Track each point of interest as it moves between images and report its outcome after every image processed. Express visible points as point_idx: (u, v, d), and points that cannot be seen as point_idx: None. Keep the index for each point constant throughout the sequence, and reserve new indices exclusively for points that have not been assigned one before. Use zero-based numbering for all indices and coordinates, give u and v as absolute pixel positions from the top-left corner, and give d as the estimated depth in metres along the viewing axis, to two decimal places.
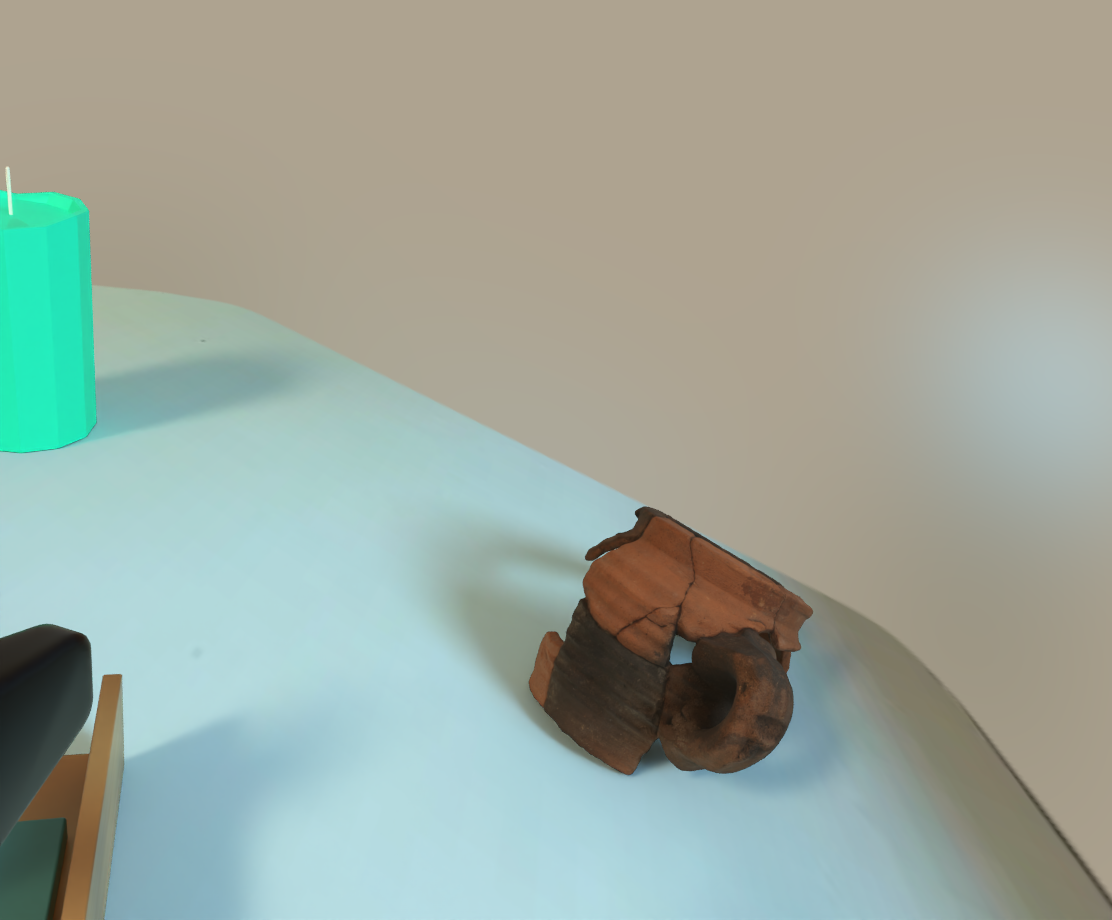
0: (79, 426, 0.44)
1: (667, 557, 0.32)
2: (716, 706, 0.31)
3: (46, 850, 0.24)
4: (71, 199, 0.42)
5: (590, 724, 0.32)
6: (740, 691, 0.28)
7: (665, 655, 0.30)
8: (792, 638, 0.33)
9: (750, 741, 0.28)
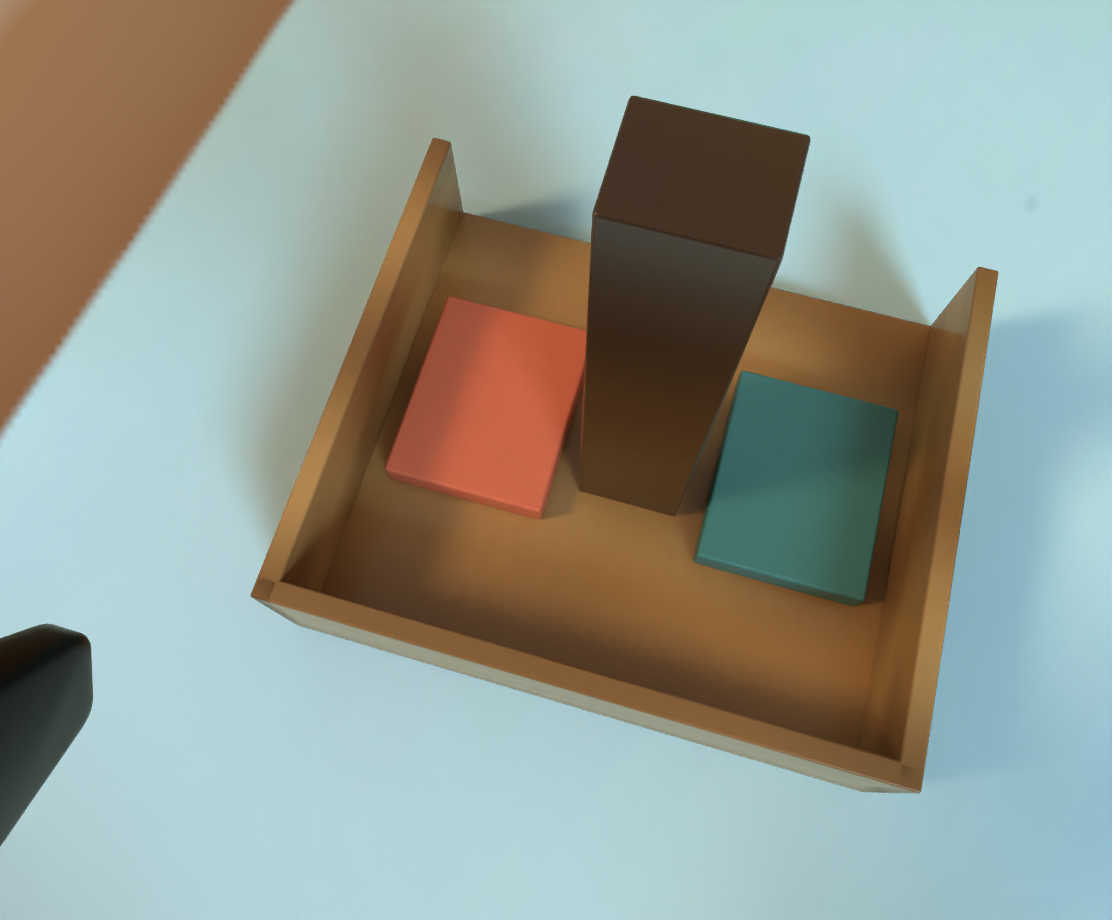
0: None
1: None
2: None
3: (880, 444, 0.23)
4: None
5: None
6: None
7: None
8: None
9: None
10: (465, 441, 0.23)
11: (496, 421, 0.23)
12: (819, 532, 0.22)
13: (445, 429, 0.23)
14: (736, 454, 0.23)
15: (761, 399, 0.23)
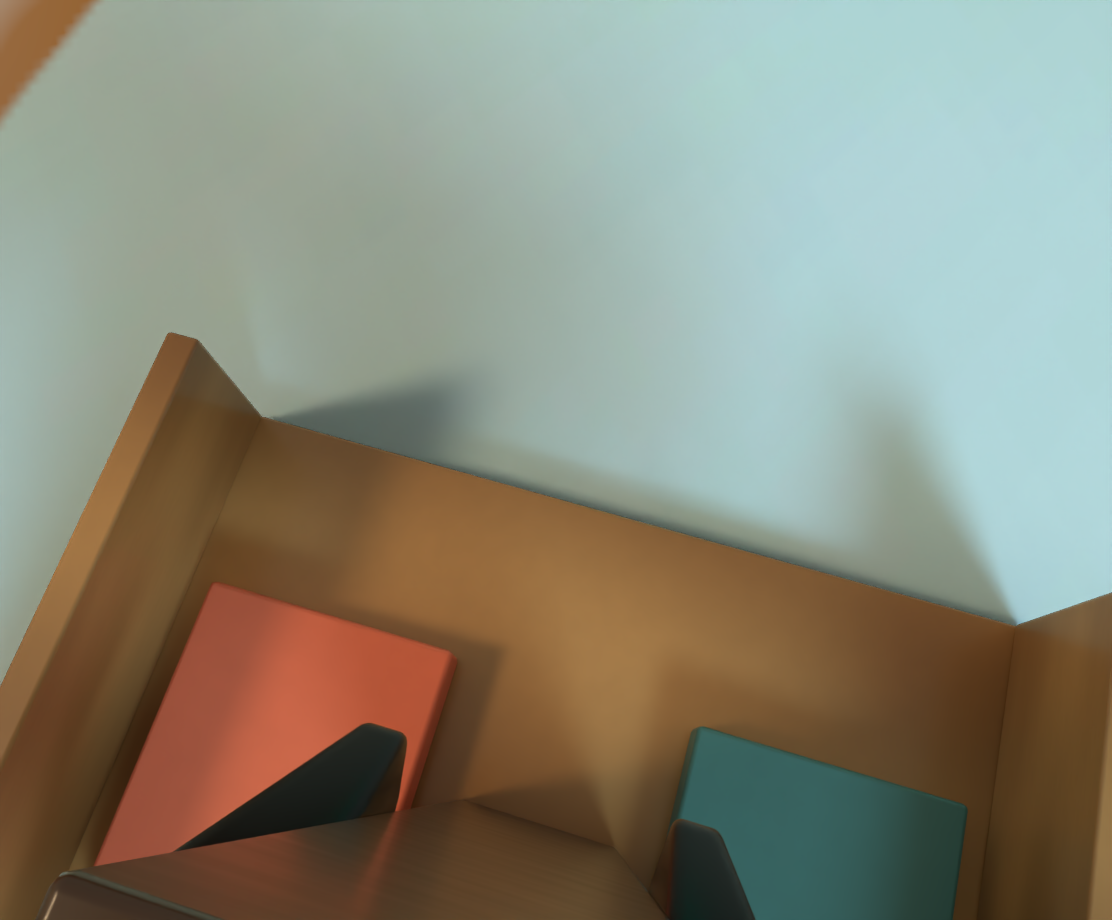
0: None
1: None
2: None
3: (937, 876, 0.13)
4: None
5: None
6: None
7: None
8: None
9: None
10: None
11: None
12: None
13: (184, 840, 0.13)
14: None
15: (731, 785, 0.13)
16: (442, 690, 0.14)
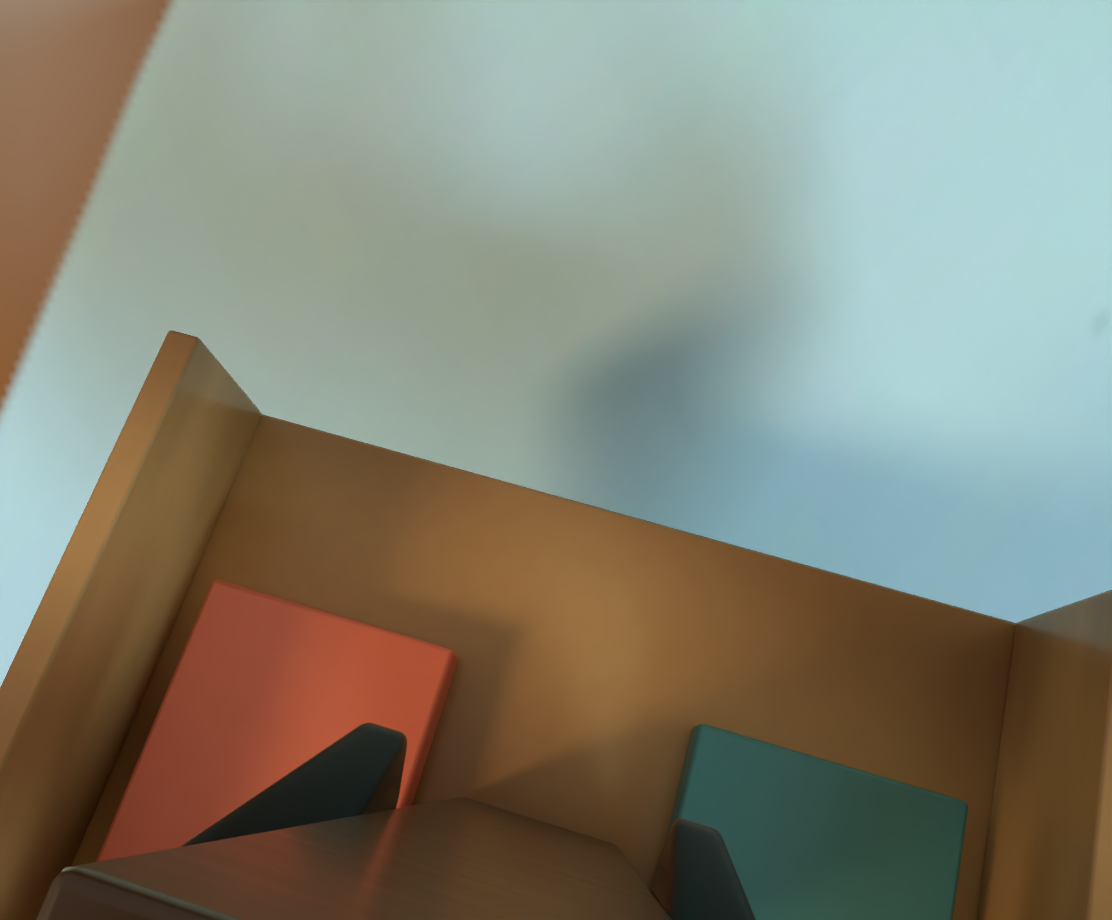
0: None
1: None
2: None
3: (937, 873, 0.13)
4: None
5: None
6: None
7: None
8: None
9: None
10: None
11: None
12: None
13: (185, 837, 0.13)
14: None
15: (732, 782, 0.13)
16: (443, 687, 0.14)
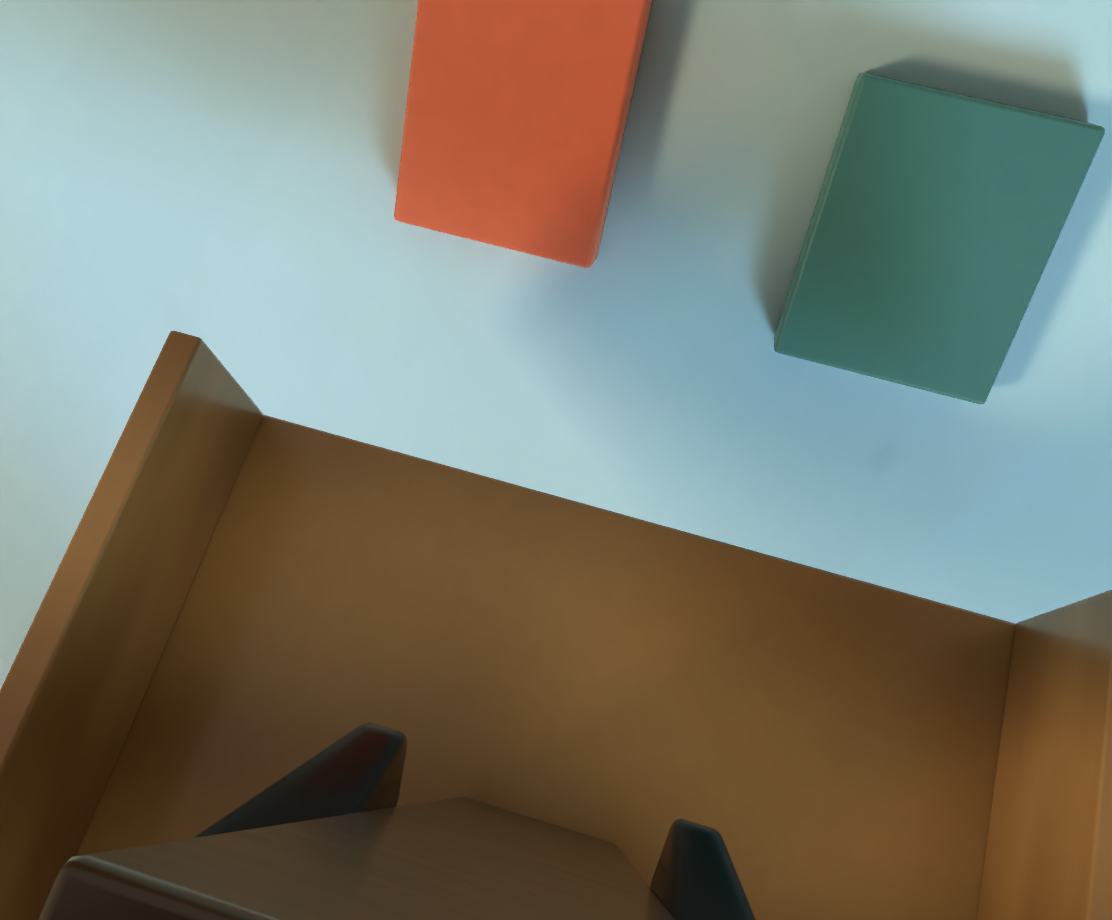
0: None
1: None
2: None
3: None
4: None
5: None
6: None
7: None
8: None
9: None
10: None
11: None
12: None
13: None
14: None
15: None
16: (601, 233, 0.18)
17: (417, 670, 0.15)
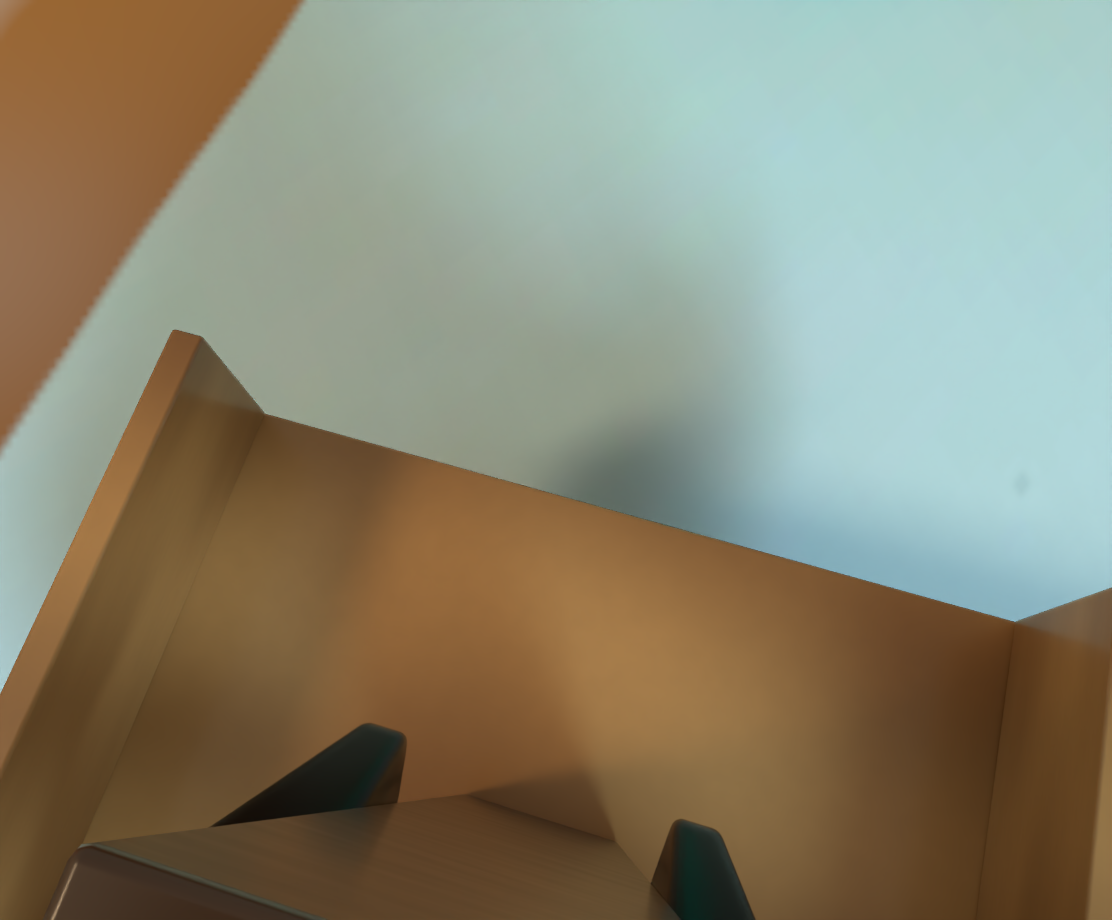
0: None
1: None
2: None
3: None
4: None
5: None
6: None
7: None
8: None
9: None
10: None
11: None
12: None
13: None
14: None
15: None
16: None
17: (418, 668, 0.15)
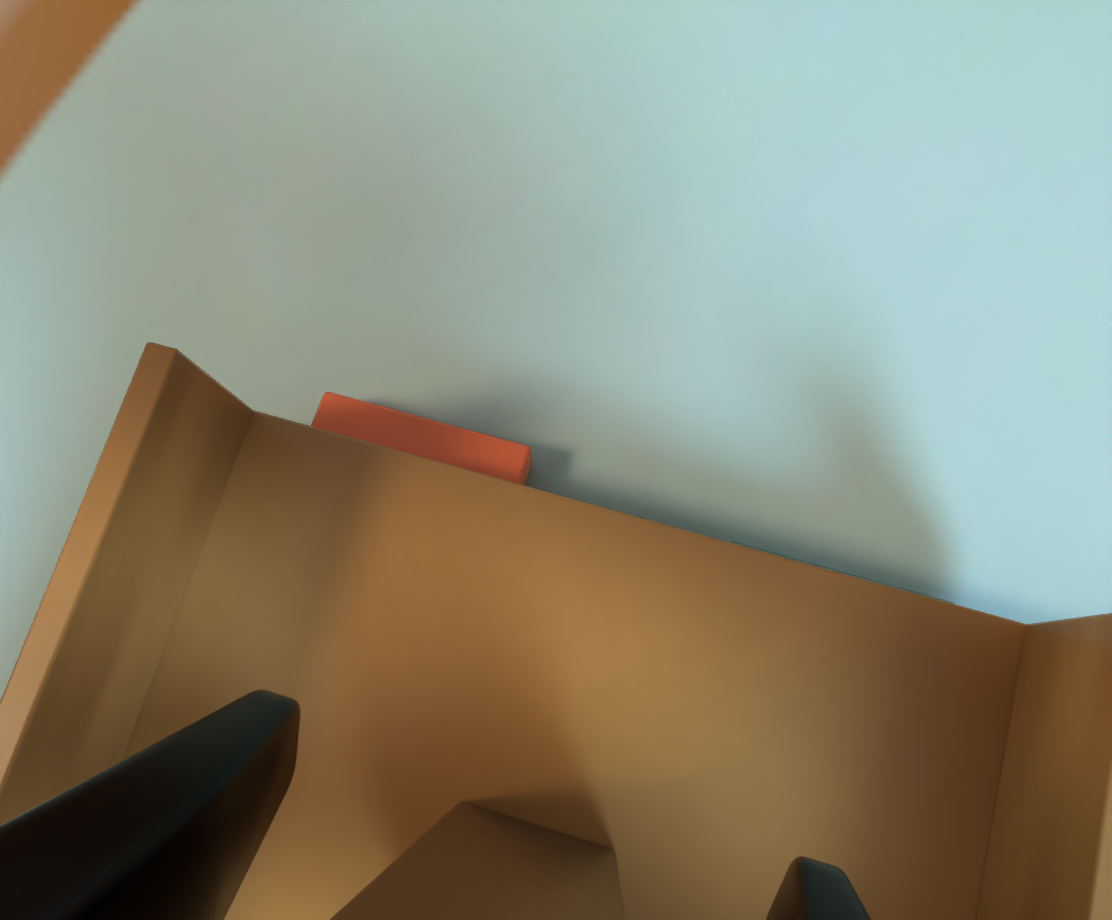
0: None
1: None
2: None
3: None
4: None
5: None
6: None
7: None
8: None
9: None
10: None
11: None
12: None
13: None
14: None
15: None
16: None
17: (414, 674, 0.15)
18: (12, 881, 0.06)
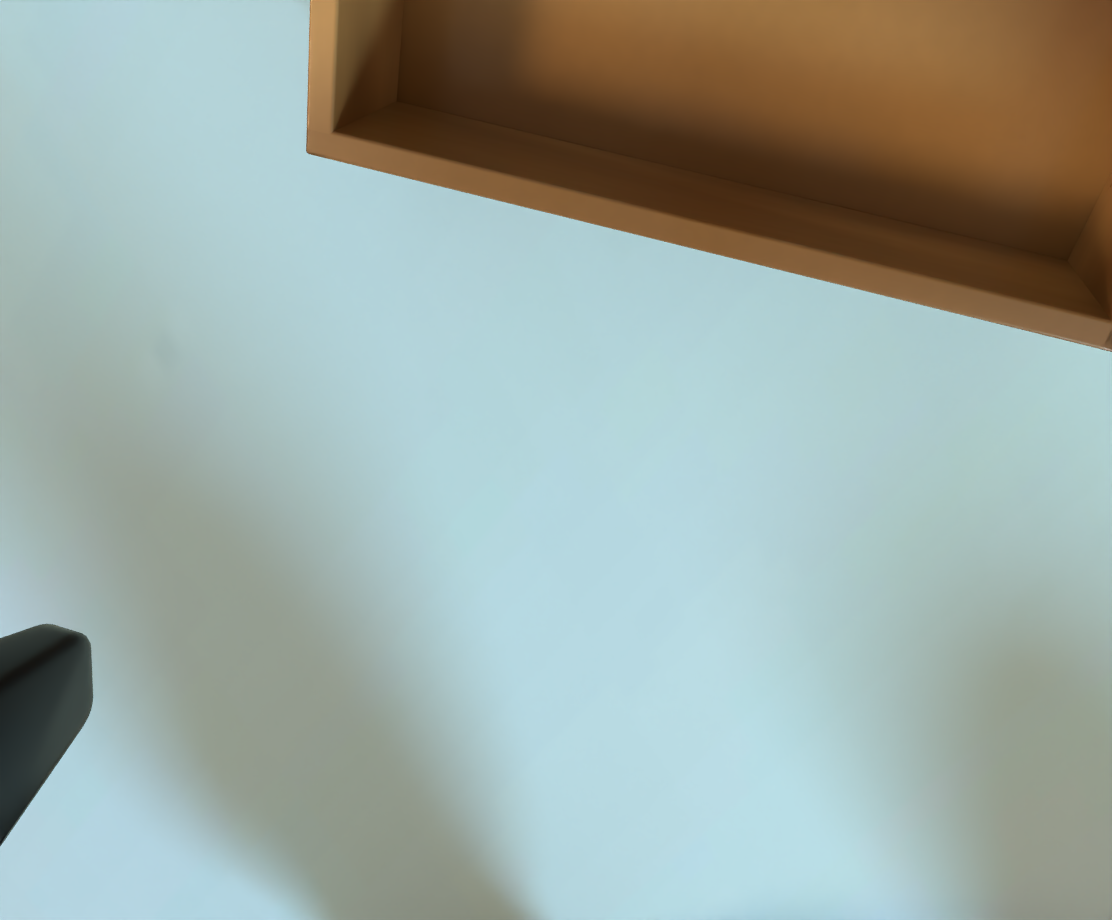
0: None
1: None
2: None
3: None
4: None
5: None
6: None
7: None
8: None
9: None
10: None
11: None
12: None
13: None
14: None
15: None
16: None
17: None
18: None
